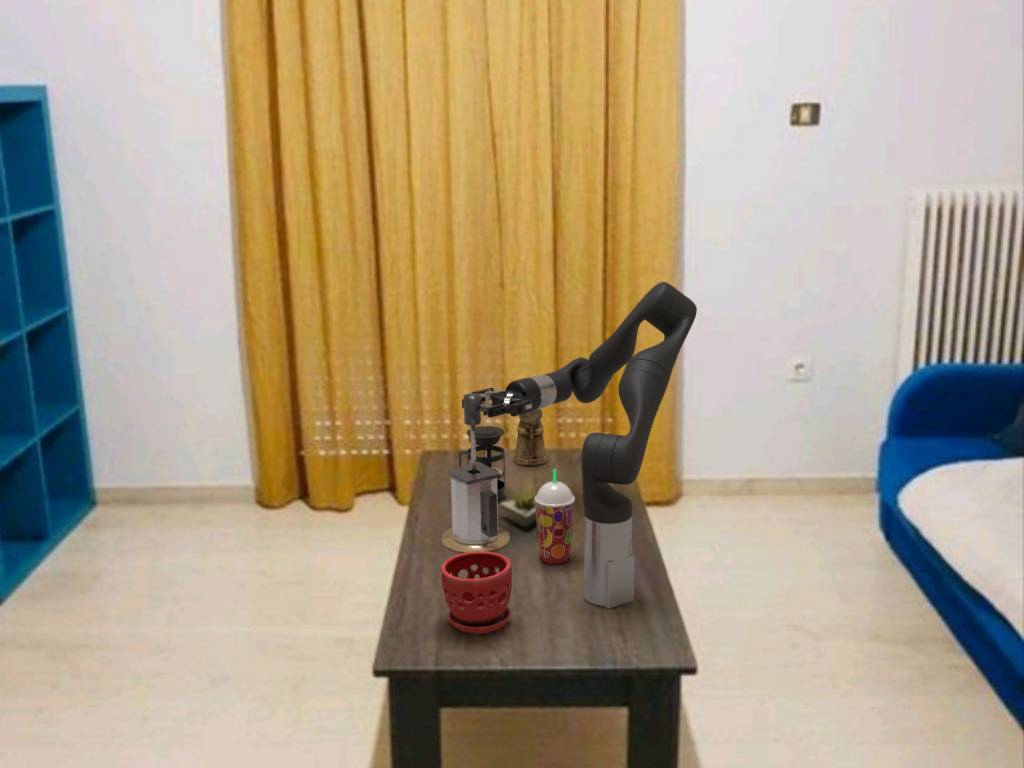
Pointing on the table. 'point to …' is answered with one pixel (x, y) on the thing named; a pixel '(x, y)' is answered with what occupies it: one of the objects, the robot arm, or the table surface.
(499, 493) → the french press
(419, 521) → the table surface
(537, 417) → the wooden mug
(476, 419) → the plunger
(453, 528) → the press carafe
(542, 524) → the smoothie
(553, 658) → the table surface
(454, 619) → the plant pot
